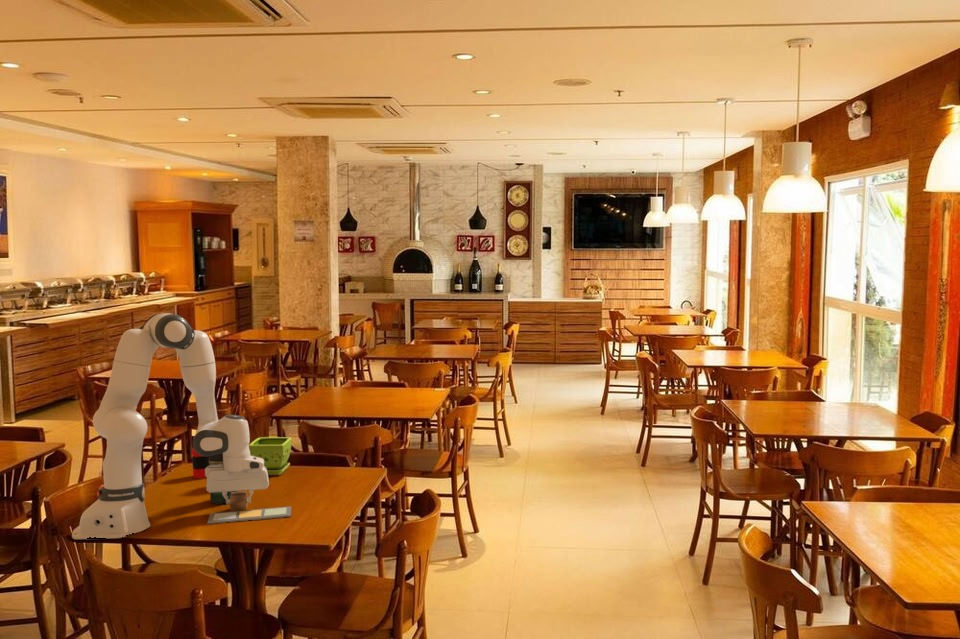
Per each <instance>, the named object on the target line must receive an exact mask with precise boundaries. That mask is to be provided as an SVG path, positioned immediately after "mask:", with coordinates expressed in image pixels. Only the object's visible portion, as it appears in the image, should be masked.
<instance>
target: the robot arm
mask: <svg viewBox="0 0 960 639" xmlns="http://www.w3.org/2000/svg"><path fill="white" fill-rule="evenodd" d="M159 348H166V349H168V348H170V349H174V350H175V351H176V352H177V355H178V358H179V367H180V375H181V377H182V380H183V382H184V385H185V387H186V388H187V389H188V390H189V391H190V393H192V395H193V397H194V400H195V406H196V411H197V417H198V423H197V424H198V425H197V428H196V432H195V434H194V436H193V438H192V447H193V448H194V450H195V451H196V452H197V453H198V454H199V455H201V456H213V455H217V454H221V453H223V464H216V465H214V464H211V465H209V466H208V467H210V468H208V467H206V469H205V476H206V477H207V478H206V489H205V490H206V492H208V493H209V494H210V493H214V492H222V495H223V497H224V498H225V499H226V503H225V505H226V506H227V505H230V498H228V496H227V492H228V491H237V492H244V491H248V493H249V495H248V496H247V497H246V503H247V504H251V503H252V502H251V501H252V500H251V499H252V496H253V495H254V493H255V490H266V489H268V487H269V485H270V481H269V480H270V479H269V475H268V473H267V469H266V467H265V466H264V459H262V458H259V457H254V456H251V455H250V450H249V445H250V443H251V442H250V440H251V439H250V438H251V437H250V428H249V422H248V420H247V419H246V418H245V416H242V415H239V414H238V415H237V414H226V415H224V416H223V417H222V418H220V419H219V415H218V410H217V403H216V397H215V390H216V389H215V387H216V381H217V380H216V379H217V369H216V368H217V366H216V359H215V355H214V350H213V345H212V343H211V340H210V337H209V335H208V334H207V333H206V332H205V331H202V330H197V329H196V330H195V329H193V328H192V326H191V325H190V324H189V322H188V321H187V320H186V319H185V318H184V317H182V316H181V315H178V314H174V313H170V312H159V313H156V314H153V315H152V316H150V317H149V318H148V319H147V320H146V321H145V322H144V324H143V325H142V326H141V327H140V328H131V329H127V330H126V331H124V332H123V333H122V335H121V337H120V339H119V342H118V344H117V347H116V350H115V354H114V359H113V361H112V362H113V363H112V366H111V370H110V371H111V372H110V375H109V380H108V385H107V387H106V390H105V393H104V395H103V397H102V400H101V403H100V404H99V407H98V409H97V410H96V411H95V413H94V415H93V416H92V425H93V427H94V430H95V431H96V432H97V434H98V435H99V436H100V437H102V438H104V439H106V449H105V450H106V451H105V457H104V459H103V461H102V472H103V475H102V476H103V484H100V486H99V487H98V490H97V500H96V501H95V502H93V503H92V504H91V505H90V506H89V507H87V508H86V509H85V510H84V511H83V512H82V514H81V516H80V521H79V526H77V527H76V528H74V529H73V530H72V533H71V538H72V539H73V540H88V539H87V538H89V537H91V538H94V537H96V538H106V539H121V538H122V537H123V538H125V537H127V536H126V535H128V536H130V535H133V534H132V533H134V534H136V533H140V532H142V531H144V530H146V529H149V528H150V527H151V522H150V521H149V517H148V515H147V510H146V505H145V498H146V495H145V494H146V492H145V485H144V481H143V476H142V452H143V444H144V440H145V439H144V438H145V437H146V436H147V432H148V422H147V420H146V418H144V417H143V415H141V413H140V412H138V411H137V410H136V409H137V407H138V404H139V402H140V400H141V398H142V396H143V395H144V394H145V392H146V390H147V386H148V381H149V378H150V372H151V369H152V368H151V367H152V363H153V362H152V361H153V357H154V354H155V352H156V351H157V350H158V349H159ZM193 448H192V449H193ZM223 467H224V468H223ZM129 534H130V535H129Z"/></svg>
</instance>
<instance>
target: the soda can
mask: <svg viewBox="0 0 960 639" xmlns="http://www.w3.org/2000/svg"><path fill="white" fill-rule="evenodd" d="M191 457H192V476H193V478H194V479H196V478H198V479H197V480H200V479H199V478H205V479H207V477H206V476H205V469H206V467H208V466H209V456H201V455H199V454H198V453H197V452H196V451H195V450H194V448H192V449H191ZM208 468H210V467H208Z"/></svg>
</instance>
